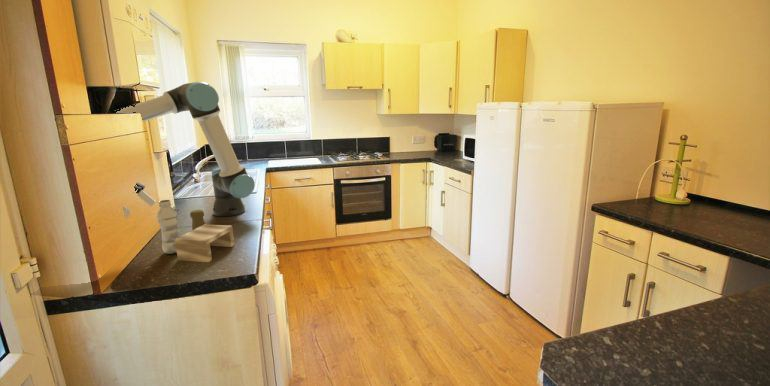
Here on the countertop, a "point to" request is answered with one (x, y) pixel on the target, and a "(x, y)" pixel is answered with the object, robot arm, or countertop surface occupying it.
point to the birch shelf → (203, 242)
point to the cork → (197, 218)
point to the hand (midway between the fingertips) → (142, 209)
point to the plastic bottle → (168, 226)
